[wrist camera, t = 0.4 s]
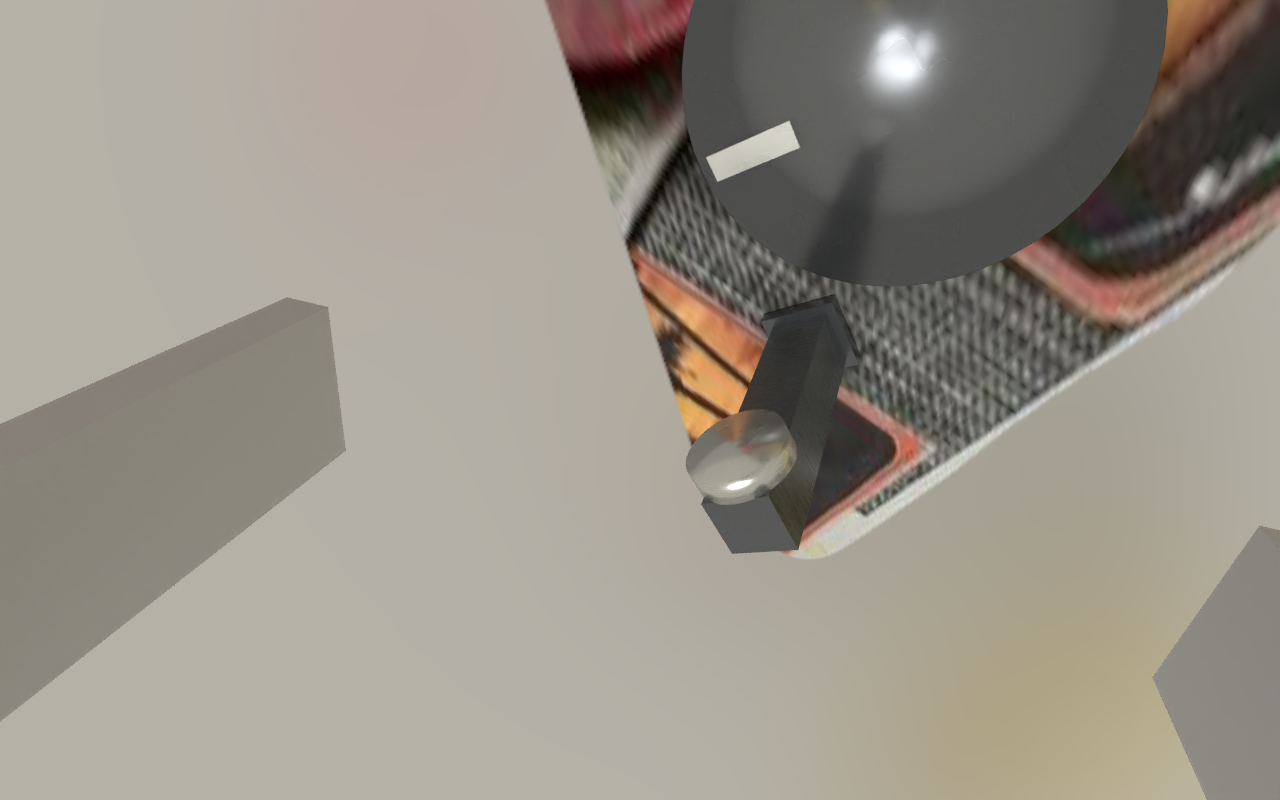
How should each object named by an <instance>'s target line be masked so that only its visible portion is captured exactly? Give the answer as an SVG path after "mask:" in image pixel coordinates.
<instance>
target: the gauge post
mask: <svg viewBox="0 0 1280 800" xmlns="http://www.w3.org/2000/svg"><path fill="white" fill-rule="evenodd" d="M761 323H762V325H763V327H764V329H765V331H766V333H767V335H768V337H769V338H768V341H767V343H766V346H765V348H764V351H763V353H762V356H761V358H760V360H759V363H758V365H757V368H756V370H755V373H754V375H753V378H752V380H751V383H750V385H749V388H748V390H747V393H746V395H745V398H744V400H743V403H742V405H741V407H740V410H739V412H738V413H737V414H734V415H731V416H729V417H727V418H725V419H723V420H721V421H719V422H717V423H716V424H714V425H713V426H711V427H710V428H709V429H707V430H706V431H705V432H704V433H703V434H702V435H701V436H700V437H699V438H698V439H697V440H696V441H695V442H694V444H693V445H692V447H691V449H690V450H689V453H688V455H687V459H686V468H687V471H688V473H689V475H690V476H691V478H692V480H693V481H694V483H695V484H696V486H697V488H698V489H699V491H700V493H701V494H702V495H703V497H704V499H703V502H702V506H703V508H704V509H705V511H706V513H707V514H708V516H709V517H710V519H711V520H712V522H713V524H714V525H715V527H716V528H717V530H718V532H719V533H720V535H721V536H722V538H723V540H724V541H725V543H726V544H727V546H728V548H729V549H730V551H731V552H732V554H734V553H751V552H767V551H785V550H798V549H799V545H800V541H801V537H802V533H803V529H804V525H805V521H806V517H807V513H808V509H809V505H810V501H811V497H812V493H813V489H814V485H815V481H816V477H817V473H818V469H819V465H820V461H821V457H822V453H823V449H824V445H825V441H826V438H827V434H828V430H829V426H830V422H831V418H832V414H833V410H834V406H835V402H836V398H837V394H838V390H839V386H840V382H841V378H842V374H843V370H844V368H845V367H850V366H854V365H859V361H860V353H859V351H858V349H857V346H856V344H855V342H854V339H853V337H852V335H851V332H850V330H849V328H848V325H847V323H846V320H845V318H844V316H843V313H842V311H841V309H840V306H839V304H838V302H837V299H836V297H835V295H831V296H828V297H824V298H820V299H817V300H813V301H810V302H806V303H802V304H799V305H795V306H791V307H788V308H784V309H781V310H777V311H773V312H770V313H766V314H764V316H763V318H762V321H761Z"/></svg>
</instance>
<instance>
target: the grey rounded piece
mask: <svg viewBox="0 0 1280 800" xmlns="http://www.w3.org/2000/svg"><path fill="white" fill-rule="evenodd" d="M1167 14H1168V8H1167V0H694V3H693V6H692V9H691V12H690V17H689V22H688V27H687V32H686V37H685V41H684V52H683V64H682V91H683V104H684V110H685V117H686V124H687V128H688V132H689V135H690V139H691V143H692V146H693V150H694V152H695V155H696V157H697V160H698V162H699V165H700V167H701V169H702V172H703V174H704V176H705V178H706V179H707V181H708V183H709V185H710V187H711V188H712V190H713V192H714V194H715V195H716V197H717V198H718V199H719V201H720V202H721V203H722V205H723V206H724V208H725V209H726V210H727V212H728V213H729V214H730V215H731V216H732V217H733V219H734V220H735V221H736V222H737V223H738V224H739V225H740V226H741V227H742V228H743V229H744V230H745V231H746V232H747V233H748V234H749V235H751V236H752V237H753V238H754V239H755V240H757V241H758V242H759V243H760V244H761V245H762V246H764V247H765V248H767V249H768V250H770V251H771V252H773V253H775V254H776V255H778V256H779V257H781V258H782V259H784V260H786V261H788V262H790V263H792V264H794V265H796V266H798V267H800V268H802V269H804V270H807V271H810V272H813V273H816V274H818V275H821V276H824V277H827V278H831V279H835V280H840V281H844V282H848V283H855V284H863V285H871V286H907V285H917V284H927V283H932V282H937V281H942V280H946V279H951V278H955V277H958V276H961V275H964V274H968V273H971V272H974V271H977V270H980V269H982V268H985V267H987V266H989V265H992V264H994V263H996V262H998V261H1001V260H1003V259H1005V258H1007V257H1009V256H1011V255H1013V254H1014V253H1016V252H1018V251H1020V250H1021V249H1023V248H1025V247H1027V246H1028V245H1030V244H1032V243H1034V242H1035V241H1036V240H1038V239H1039V238H1041V237H1042V236H1043V235H1045V234H1046V233H1048V232H1049V231H1050V230H1052V229H1053V228H1054V227H1056V226H1057V225H1059V224H1060V223H1061V222H1062V221H1063V220H1064V219H1065V218H1067V217H1068V216H1069V215H1070V214H1071V213H1072V212H1073V211H1074V210H1075V209H1077V208H1078V207H1079V206H1080V205H1081V204H1082V203H1083V202H1084V201H1085V200H1086V199H1087V198H1088V197H1089V196H1090V194H1091V193H1092V192H1093V191H1094V190H1095V189H1096V188H1097V187H1098V185H1099V184H1100V183H1101V182H1102V181H1103V180H1104V179H1105V178H1106V176H1107V175H1108V174H1109V172H1110V171H1111V169H1112V168H1113V166H1114V165H1115V164H1116V162H1117V161H1118V159H1119V158H1120V156H1121V155H1122V154H1123V152H1124V151H1125V149H1126V148H1127V146H1128V144H1129V142H1130V140H1131V138H1132V137H1133V135H1134V133H1135V131H1136V129H1137V127H1138V125H1139V124H1140V122H1141V120H1142V118H1143V116H1144V113H1145V111H1146V108H1147V105H1148V103H1149V100H1150V98H1151V95H1152V92H1153V90H1154V87H1155V85H1156V81H1157V77H1158V73H1159V68H1160V64H1161V60H1162V56H1163V52H1164V46H1165V36H1166V25H1167Z"/></svg>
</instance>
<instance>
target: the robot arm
mask: <svg viewBox="0 0 1280 800" xmlns="http://www.w3.org/2000/svg"><path fill="white" fill-rule="evenodd" d="M344 451H346V449H345V441H344V433H343V425H342V418H341V409H340V401H339V393H338V384H337V376H336V369H335V360H334V352H333V345H332V337H331V328H330V320H329V312H328V307H325V306H321V305H317V304H313V303H308V302H304V301H300V300H296V299H291V298H285V299H282V300H280V301H278V302H276V303H274V304H271V305H269V306H267V307H264V308H262V309H260V310H258V311H255V312H253V313H251V314H249V315H246V316H244V317H242V318H240V319H237V320H235V321H233V322H230V323H228V324H226V325H224V326H222V327H219V328H217V329H215V330H212V331H210V332H208V333H206V334H203V335H201V336H199V337H196V338H194V339H192V340H190V341H187V342H185V343H183V344H181V345H179V346H176V347H174V348H172V349H169V350H167V351H165V352H163V353H160V354H158V355H156V356H154V357H152V358H149V359H147V360H144V361H142V362H140V363H138V364H135V365H133V366H131V367H129V368H126V369H124V370H122V371H120V372H117V373H115V374H113V375H111V376H108V377H106V378H104V379H102V380H99V381H97V382H95V383H92V384H90V385H88V386H86V387H83V388H81V389H79V390H77V391H74V392H72V393H70V394H68V395H65V396H63V397H61V398H58V399H56V400H54V401H52V402H49V403H47V404H45V405H43V406H41V407H38V408H36V409H34V410H31V411H29V412H27V413H24V414H22V415H20V416H18V417H15V418H13V419H11V420H9V421H6V422H4V423H2V424H0V721H1V720H2V719H4V718H5V717H6V716H8V715H9V714H10V713H12V712H13V711H14V710H15V709H17V708H18V707H19V706H20V705H22V704H23V703H24V702H26V701H27V700H28V699H29V698H31V697H32V696H33V695H35V694H36V693H37V692H38V691H39V690H41V689H42V688H43V687H45V686H46V685H47V684H49V683H50V682H51V681H52V680H54V679H55V678H56V677H57V676H59V675H60V674H61V673H63V672H64V671H65V670H66V669H67V668H69V667H70V666H72V665H73V664H74V663H75V662H76V661H78V660H79V659H80V658H82V657H83V656H84V655H85V654H87V653H88V652H89V651H91V650H92V649H93V648H94V647H96V646H97V645H98V644H100V643H101V642H102V641H103V640H105V639H106V638H107V637H109V636H110V635H111V634H112V633H114V632H115V631H116V630H117V629H119V628H120V627H121V626H123V625H124V624H125V623H126V622H128V621H129V620H130V619H131V618H133V617H134V616H135V615H136V614H138V613H139V612H140V611H142V610H143V609H144V608H145V607H147V606H148V605H149V604H150V603H152V602H153V601H154V600H156V599H157V598H158V597H159V596H161V595H162V594H163V593H165V592H166V591H167V590H168V589H170V588H171V587H172V586H174V585H175V584H176V583H177V582H179V581H180V580H181V579H182V578H184V577H185V576H186V575H188V574H189V573H190V572H191V571H193V570H194V569H195V568H197V567H198V566H199V565H200V564H202V563H203V562H204V561H205V560H207V559H208V558H209V557H210V556H212V555H213V554H214V553H216V552H217V551H218V550H219V549H220V548H222V547H223V546H225V545H226V544H227V543H228V542H230V541H231V540H232V539H234V538H235V537H236V536H237V535H239V534H240V533H241V532H242V531H244V530H245V529H246V528H248V527H249V526H250V525H251V524H252V523H254V522H255V521H256V520H258V519H259V518H260V517H262V516H263V515H264V514H265V513H267V512H268V511H269V510H270V509H272V508H273V507H274V506H276V505H277V504H278V503H279V502H281V501H282V500H283V499H284V498H286V497H287V496H288V495H290V494H291V493H292V492H293V491H295V490H296V489H297V488H299V487H300V486H301V485H302V484H304V483H305V482H306V481H307V480H309V479H310V478H311V477H312V476H314V475H315V474H316V473H318V472H319V471H320V470H321V469H323V468H324V467H325V466H327V465H328V464H329V463H330V462H332V461H333V460H334V459H335V458H337V457H338V456H339V455H341V454H342V453H343V452H344ZM1153 679H1154V682H1155V684H1156V686H1157V688H1158V691H1159V693H1160V695H1161V697H1162V700H1163V702H1164V704H1165V706H1166V709H1167V711H1168V713H1169V715H1170V718H1171V720H1172V722H1173V724H1174V727H1175V729H1176V731H1177V733H1178V736H1179V738H1180V740H1181V742H1182V745H1183V747H1184V749H1185V751H1186V754H1187V756H1188V758H1189V760H1190V763H1191V765H1192V767H1193V769H1194V772H1195V774H1196V776H1197V778H1198V781H1199V783H1200V785H1201V787H1202V789H1203V792H1204V794H1205V796H1206V799H1207V800H1280V531H1279V530H1275V529H1271V528H1267V527H1262V526H1259V527H1258V529H1257V530H1256V532H1255V533H1254V534H1253V536H1252V537H1251V538H1250V540H1249V541H1248V543H1247V544H1246V546H1245V547H1244V549H1243V550H1242V551H1241V553H1240V554H1239V555H1238V557H1237V558H1236V560H1235V561H1234V563H1233V564H1232V565H1231V567H1230V568H1229V570H1228V571H1227V572H1226V574H1225V576H1224V577H1223V578H1222V580H1221V581H1220V583H1219V584H1218V585H1217V587H1216V588H1215V589H1214V591H1213V592H1212V594H1211V595H1210V597H1209V598H1208V599H1207V601H1206V602H1205V604H1204V605H1203V607H1202V608H1201V609H1200V611H1199V612H1198V614H1197V615H1196V616H1195V618H1194V619H1193V621H1192V622H1191V623H1190V625H1189V626H1188V628H1187V629H1186V631H1185V632H1184V633H1183V635H1182V636H1181V638H1180V639H1179V641H1178V642H1177V643H1176V645H1175V646H1174V648H1173V649H1172V650H1171V652H1170V653H1169V655H1168V656H1167V658H1166V659H1165V660H1164V662H1163V663H1162V665H1161V666H1160V668H1159V669H1158V670H1157V672H1156V673H1155V675H1154V676H1153Z"/></svg>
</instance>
